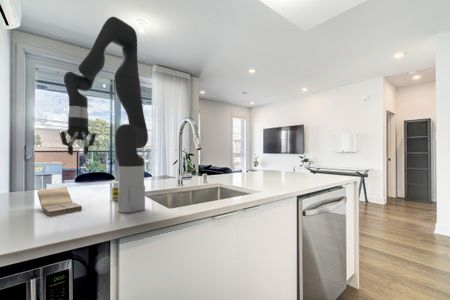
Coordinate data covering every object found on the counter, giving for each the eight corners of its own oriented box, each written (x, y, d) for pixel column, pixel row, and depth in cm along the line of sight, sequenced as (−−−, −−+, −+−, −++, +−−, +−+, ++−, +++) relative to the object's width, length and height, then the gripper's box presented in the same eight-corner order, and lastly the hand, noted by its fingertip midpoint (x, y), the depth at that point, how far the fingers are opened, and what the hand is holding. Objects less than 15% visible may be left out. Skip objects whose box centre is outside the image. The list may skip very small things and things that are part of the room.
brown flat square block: (81, 210, 81) (81, 205, 81) (49, 216, 74) (49, 211, 74) (73, 206, 87) (73, 202, 87) (42, 211, 80) (42, 207, 80)
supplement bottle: (112, 201, 96) (112, 182, 96) (112, 199, 100) (112, 181, 100) (123, 199, 98) (123, 182, 98) (123, 197, 102) (123, 180, 102)
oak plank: (71, 204, 88) (72, 202, 87) (42, 209, 80) (42, 207, 80) (65, 189, 93) (66, 187, 92) (37, 193, 85) (37, 190, 85)
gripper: (61, 114, 87) (61, 155, 87) (99, 118, 98) (98, 154, 98) (56, 116, 92) (56, 155, 92) (92, 120, 103) (92, 154, 103)
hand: (78, 154), depth 95 cm, fingers open, 5 cm apart
